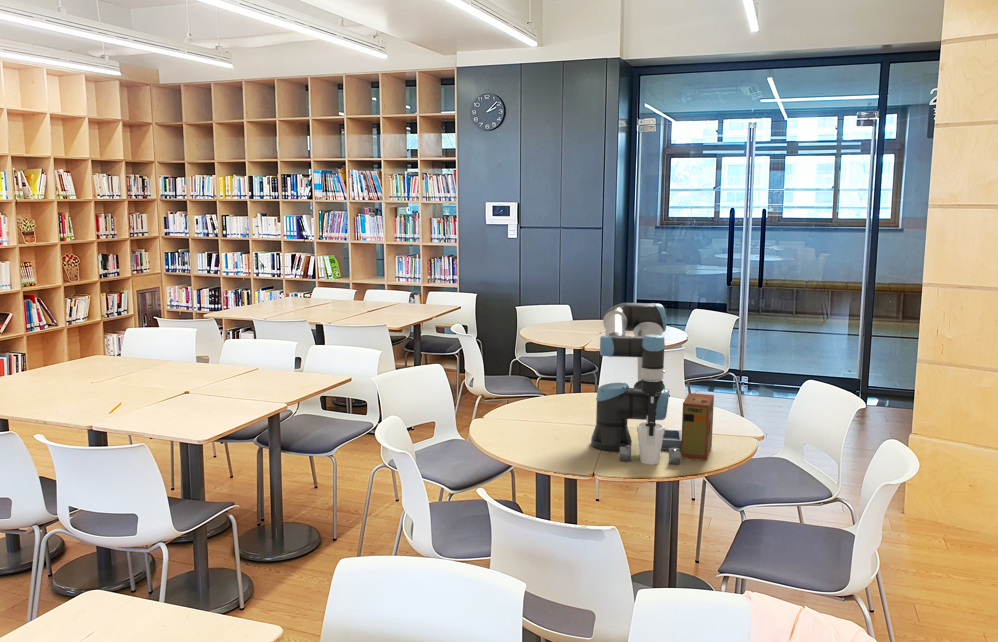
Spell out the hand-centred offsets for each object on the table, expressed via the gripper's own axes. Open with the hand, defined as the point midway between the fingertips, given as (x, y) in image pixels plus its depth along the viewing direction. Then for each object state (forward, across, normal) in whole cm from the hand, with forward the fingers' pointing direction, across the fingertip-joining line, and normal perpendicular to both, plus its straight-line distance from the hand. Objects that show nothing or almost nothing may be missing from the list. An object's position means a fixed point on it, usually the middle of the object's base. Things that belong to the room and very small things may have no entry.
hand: (650, 439), depth 263 cm
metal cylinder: (+8, 0, +8) cm, 12 cm away
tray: (+8, +23, -5) cm, 25 cm away
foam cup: (+8, 0, 0) cm, 9 cm away
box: (+8, +15, -17) cm, 24 cm away
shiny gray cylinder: (+8, 0, -8) cm, 12 cm away
